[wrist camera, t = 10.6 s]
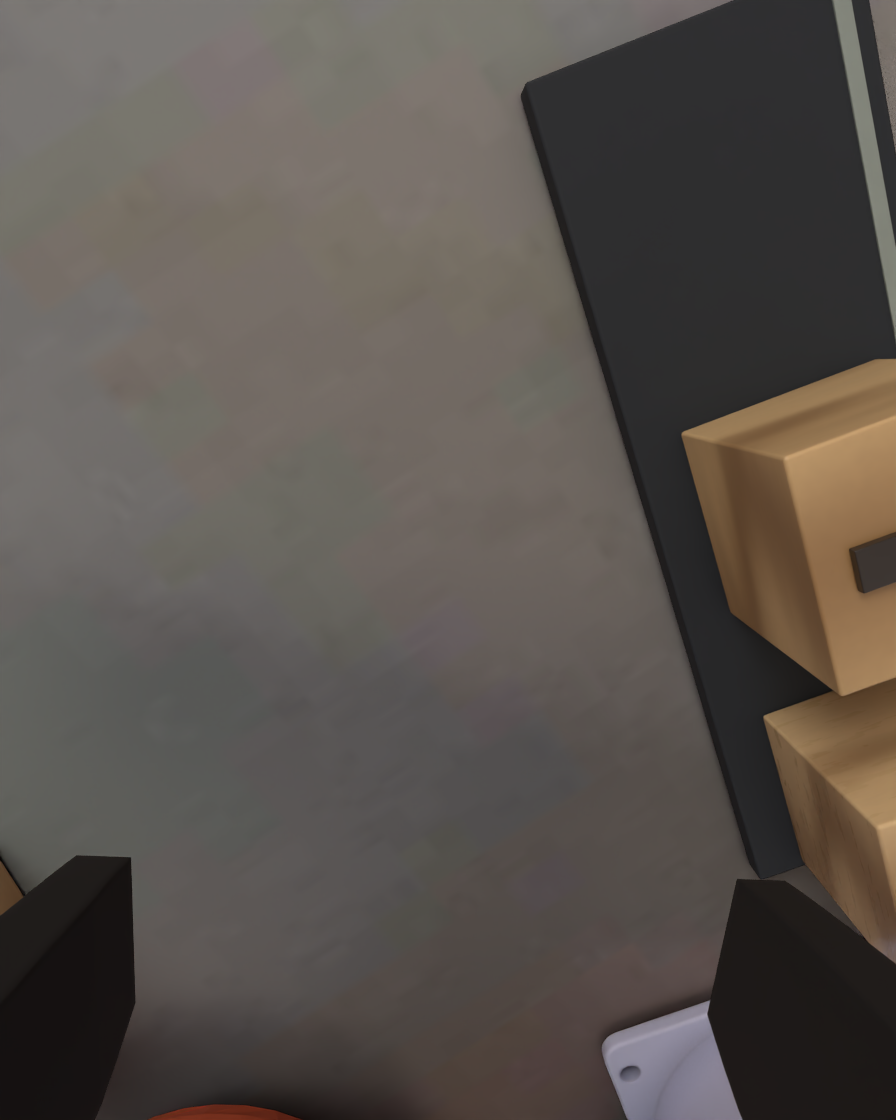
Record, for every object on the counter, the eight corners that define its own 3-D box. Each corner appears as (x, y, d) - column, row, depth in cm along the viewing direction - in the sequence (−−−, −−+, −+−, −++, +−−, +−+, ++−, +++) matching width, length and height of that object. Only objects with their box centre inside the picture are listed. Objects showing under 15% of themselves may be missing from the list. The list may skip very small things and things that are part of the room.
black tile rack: (988, 781, 17) (1010, 796, 17) (748, 864, 17) (761, 882, 17) (840, -33, 13) (863, -54, 12) (519, 95, 13) (525, 81, 12)
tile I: (913, 546, 15) (1101, 612, 11) (729, 613, 15) (847, 703, 11) (876, 358, 14) (1069, 354, 10) (679, 432, 14) (789, 458, 10)
